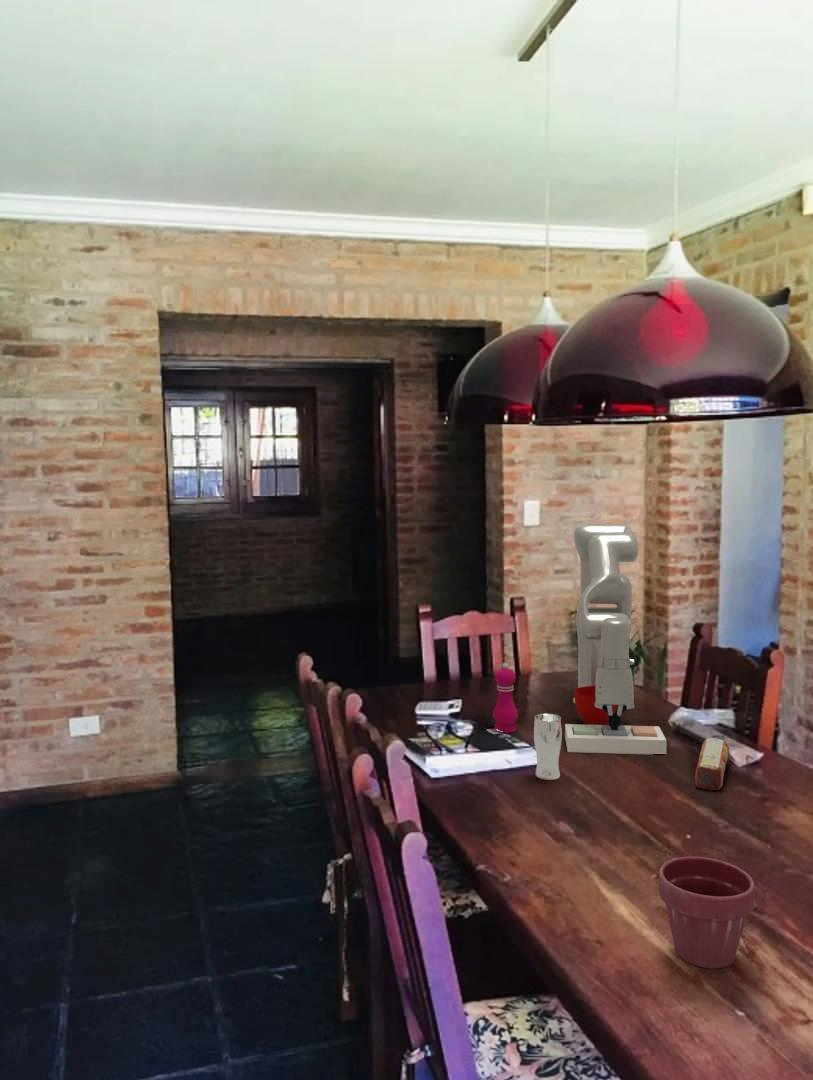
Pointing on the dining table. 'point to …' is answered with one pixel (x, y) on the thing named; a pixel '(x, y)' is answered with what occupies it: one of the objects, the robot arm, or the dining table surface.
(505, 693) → the pepper mill
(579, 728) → the button sage
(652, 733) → the button terracotta
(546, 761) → the beer glass
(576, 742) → the button panel
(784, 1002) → the dining table surface
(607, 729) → the button slate
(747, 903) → the plant pot
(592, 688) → the ceramic cup
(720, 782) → the snack package
